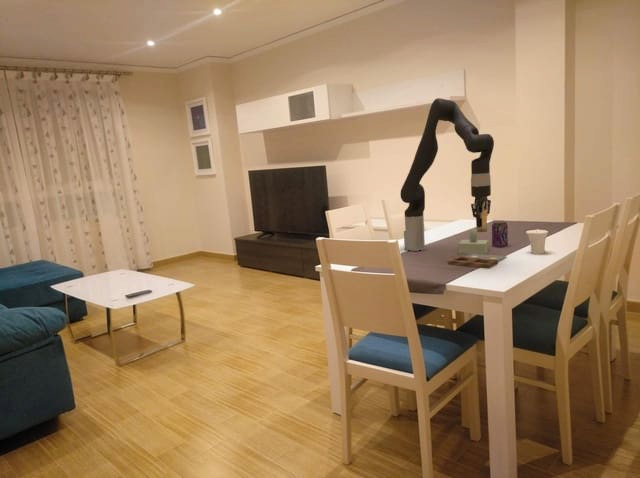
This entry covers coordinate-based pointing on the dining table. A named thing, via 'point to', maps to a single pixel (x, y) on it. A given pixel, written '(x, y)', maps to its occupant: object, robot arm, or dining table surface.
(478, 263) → the walnut frame
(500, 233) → the beverage can
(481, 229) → the brass pin
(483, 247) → the green cover
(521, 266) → the dining table surface
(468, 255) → the grey mat
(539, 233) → the cup
